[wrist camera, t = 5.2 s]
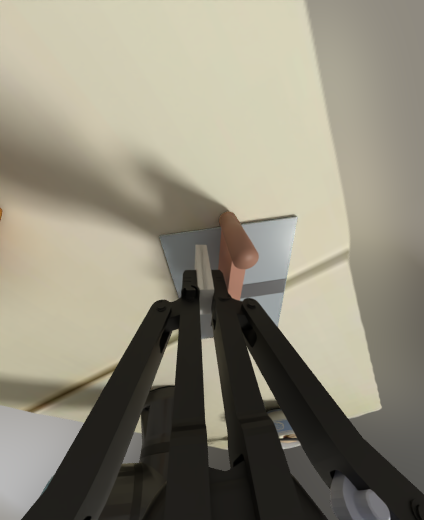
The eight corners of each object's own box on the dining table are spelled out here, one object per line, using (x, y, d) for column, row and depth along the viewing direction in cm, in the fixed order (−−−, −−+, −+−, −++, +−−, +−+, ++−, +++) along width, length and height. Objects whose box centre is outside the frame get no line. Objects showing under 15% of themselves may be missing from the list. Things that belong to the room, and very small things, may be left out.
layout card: (192, 338, 29) (192, 340, 29) (159, 235, 18) (159, 236, 18) (276, 326, 30) (277, 327, 29) (296, 216, 18) (297, 217, 18)
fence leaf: (214, 288, 22) (222, 339, 16) (219, 211, 17) (233, 247, 11) (227, 288, 23) (239, 338, 17) (237, 211, 17) (261, 246, 11)
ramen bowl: (227, 422, 60) (232, 457, 53) (263, 397, 49) (274, 437, 42) (282, 422, 67) (292, 453, 61) (324, 401, 57) (341, 435, 50)
